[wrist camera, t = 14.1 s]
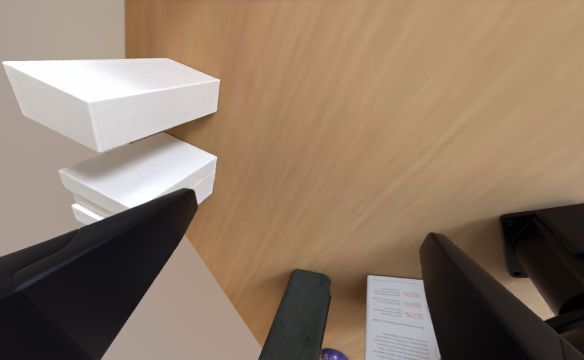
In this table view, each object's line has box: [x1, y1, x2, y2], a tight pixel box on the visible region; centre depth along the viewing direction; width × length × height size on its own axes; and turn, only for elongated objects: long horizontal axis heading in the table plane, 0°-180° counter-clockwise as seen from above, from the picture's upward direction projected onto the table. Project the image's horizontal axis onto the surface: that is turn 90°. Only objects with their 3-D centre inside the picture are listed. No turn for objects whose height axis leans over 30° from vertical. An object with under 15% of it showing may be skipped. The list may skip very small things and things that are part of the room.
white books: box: [58, 132, 217, 225], centre depth 22 cm, size 7×5×10 cm
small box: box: [364, 275, 441, 360], centre depth 20 cm, size 8×6×10 cm
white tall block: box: [3, 58, 220, 153], centre depth 16 cm, size 6×3×11 cm, turn 73°
